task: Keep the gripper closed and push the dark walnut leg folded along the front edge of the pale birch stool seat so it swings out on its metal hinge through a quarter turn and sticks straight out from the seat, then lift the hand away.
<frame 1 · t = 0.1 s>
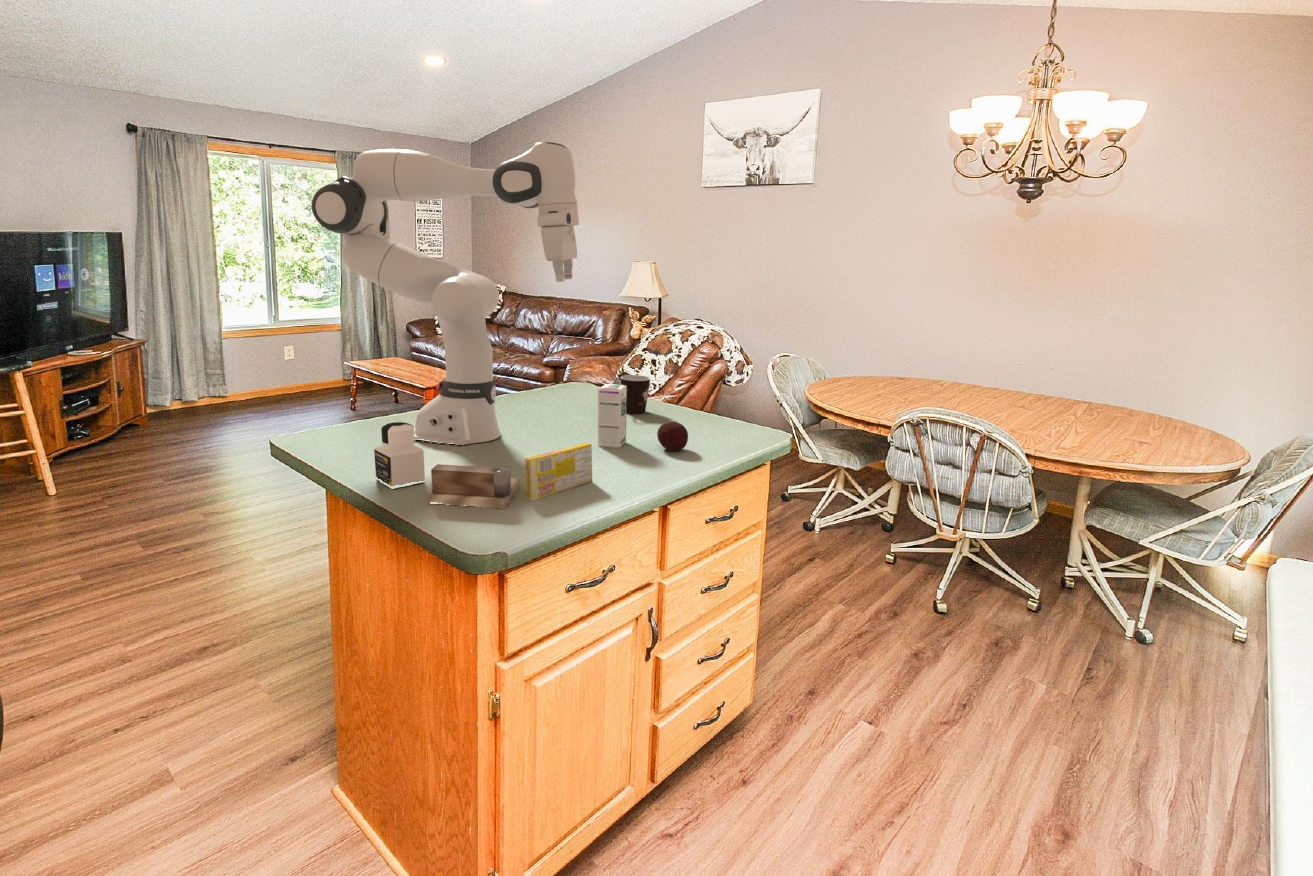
hand: (564, 280, 170), 39 cm above the table, tool pointing down, fingers open, 8 cm apart
candy box: (560, 491, 146), on the table
folding leg: (472, 480, 136), point 4 cm above the table, hinge at 0.0°
dark red plum: (672, 450, 177), on the table
medicine bottle: (400, 483, 147), on the table
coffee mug: (630, 413, 212), on the table
stool seat: (476, 495, 141), on the table
syrup box: (611, 444, 179), on the table
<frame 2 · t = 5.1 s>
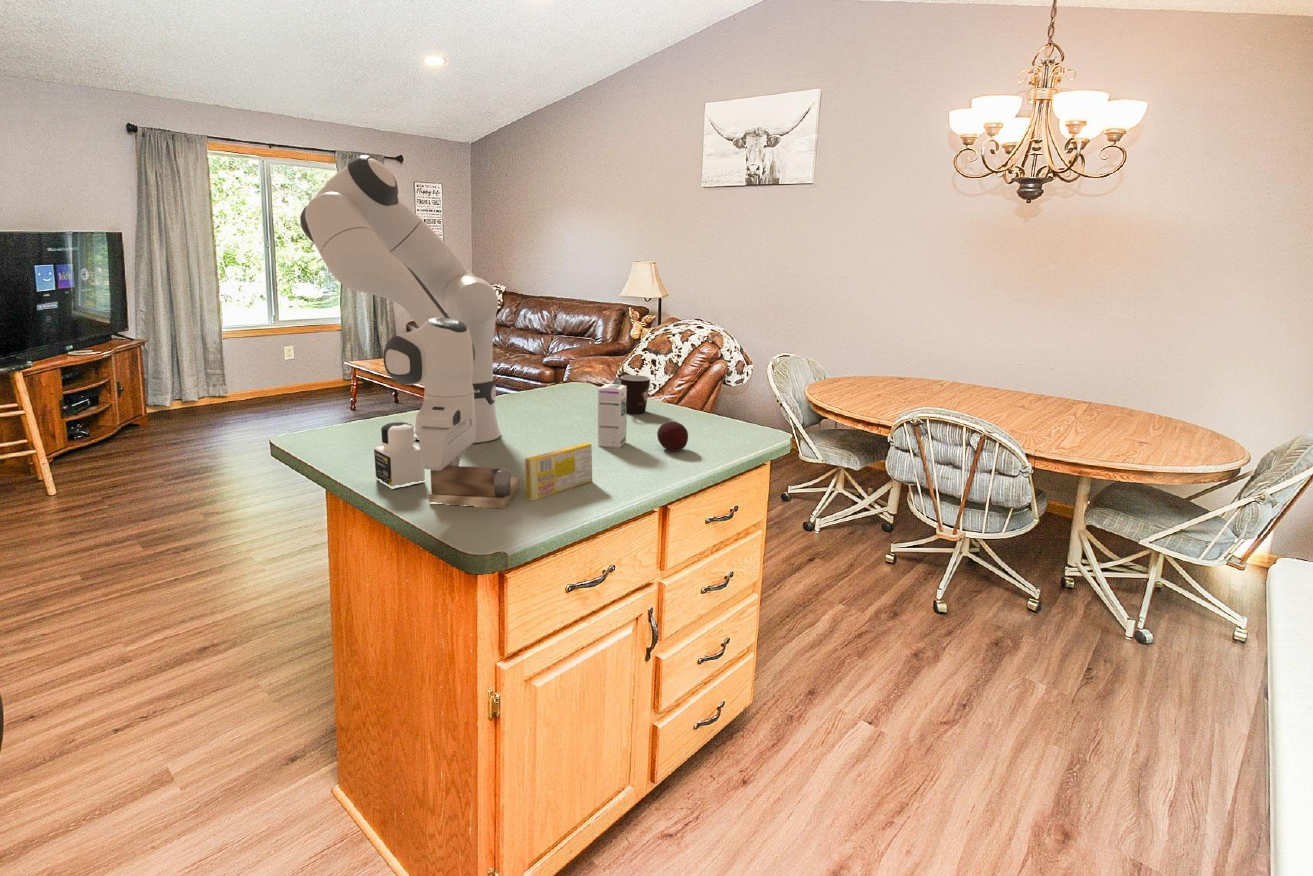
hand: (451, 478, 139), 4 cm above the table, tool pointing down, fingers closed
folding leg: (472, 481, 136), point 4 cm above the table, hinge at 2.8°, touching gripper
everything else where it was.
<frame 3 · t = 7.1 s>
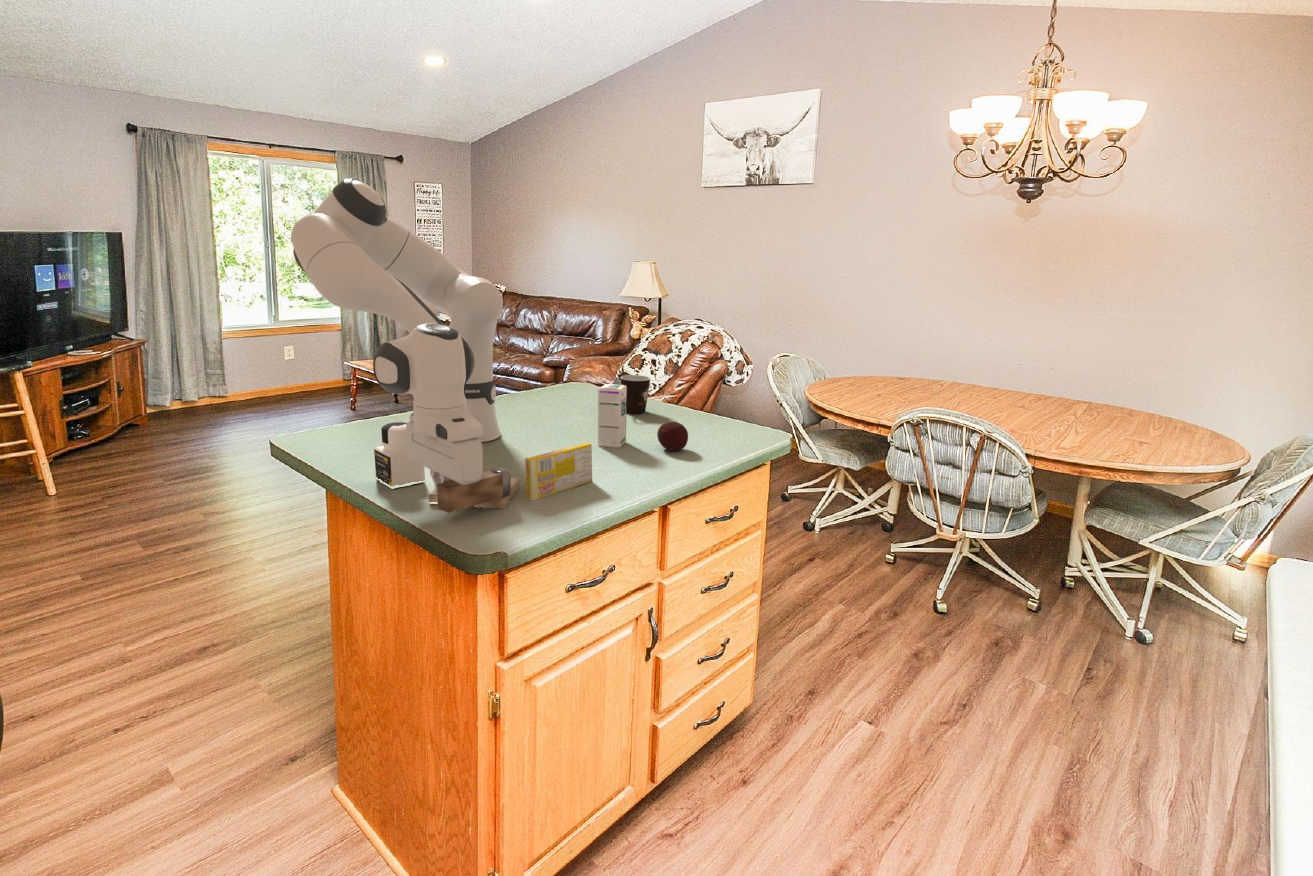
hand: (442, 494, 131), 4 cm above the table, tool pointing down, fingers closed
folding leg: (477, 489, 132), point 4 cm above the table, hinge at 54.0°, touching gripper
everything else where it was.
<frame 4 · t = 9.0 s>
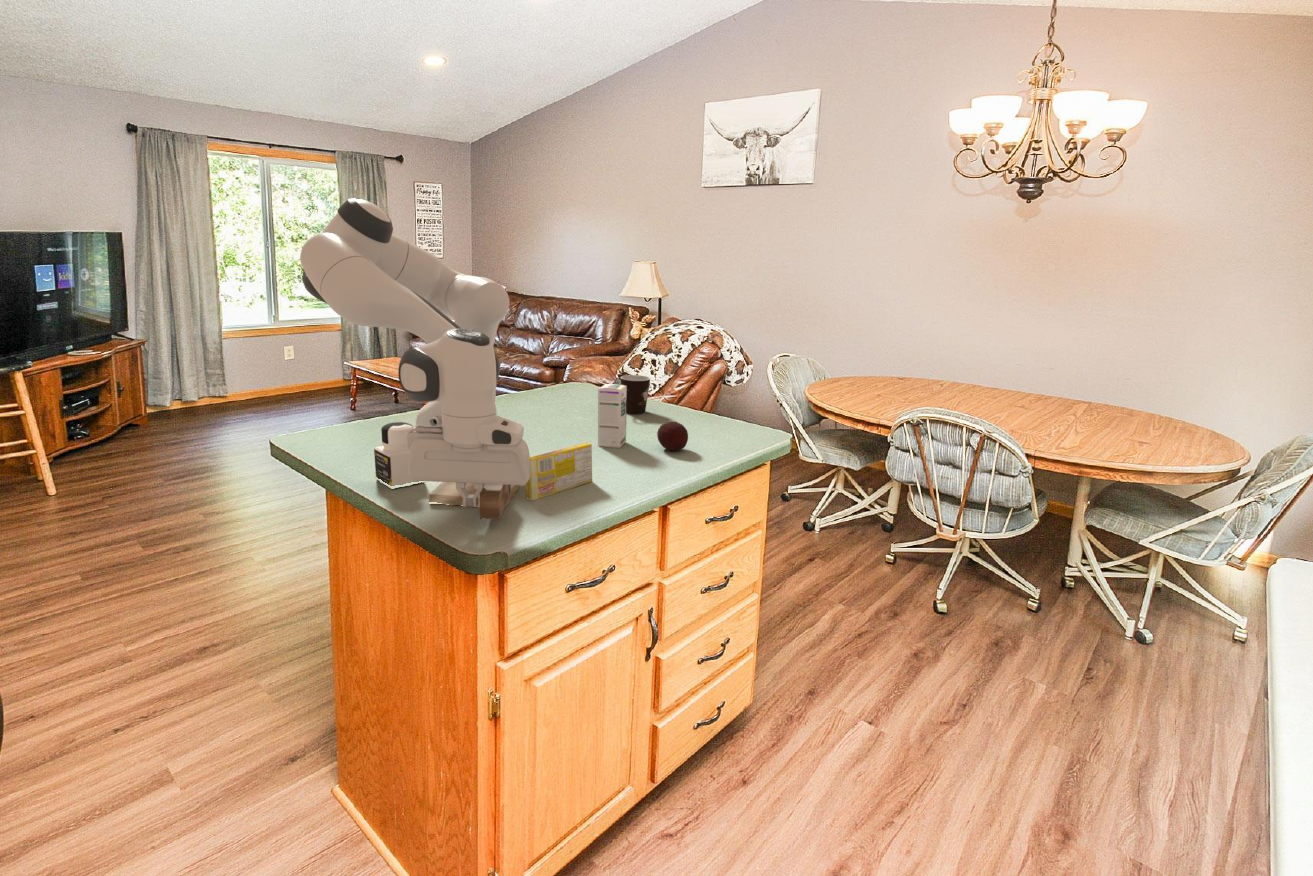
hand: (470, 505, 126), 4 cm above the table, tool pointing down, fingers closed
folding leg: (496, 492, 131), point 4 cm above the table, hinge at 96.9°, touching gripper
everything else where it was.
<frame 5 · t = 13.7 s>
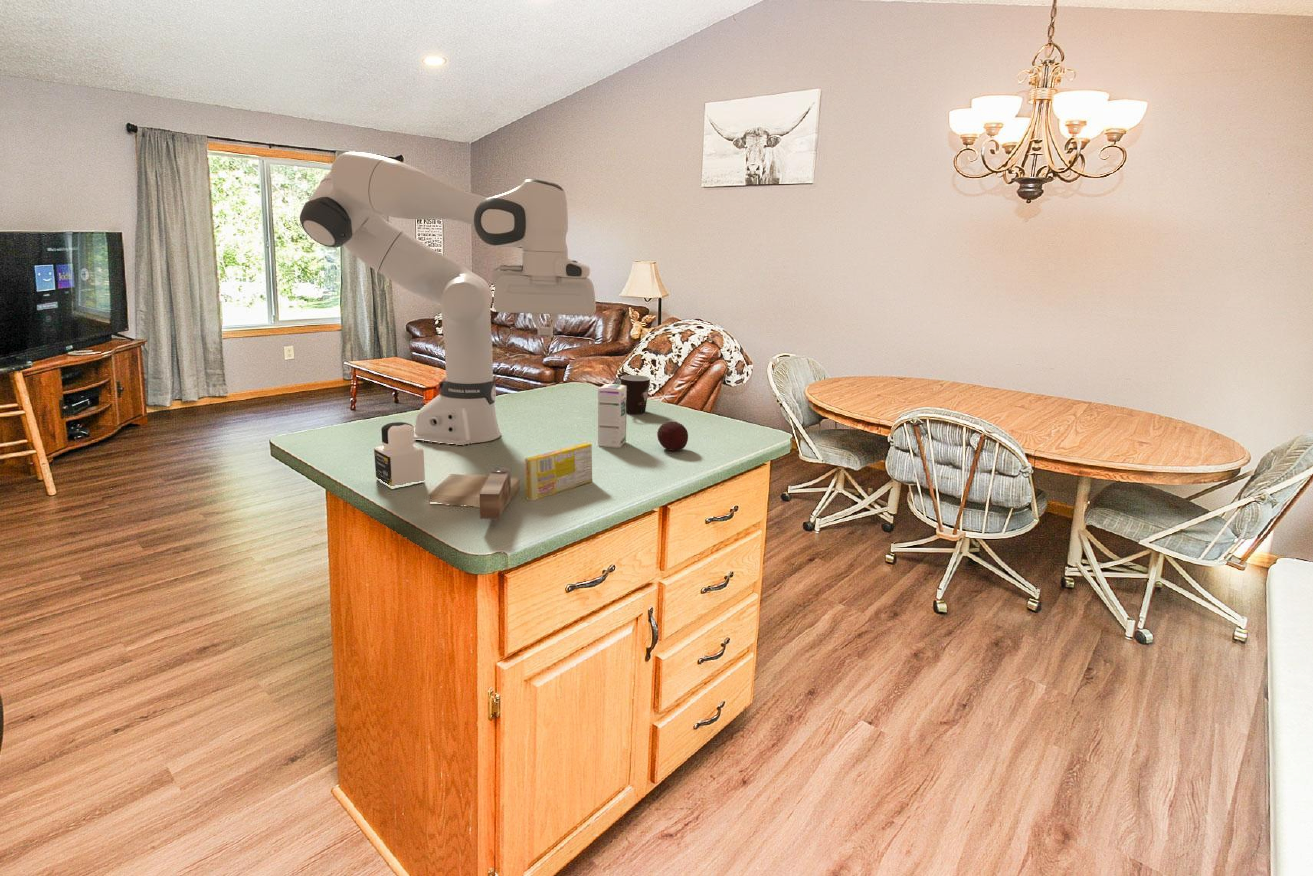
hand: (545, 336, 148), 29 cm above the table, tool pointing down, fingers closed
folding leg: (496, 492, 131), point 4 cm above the table, hinge at 96.9°
everything else where it was.
at the end: folding leg at +97° (first picture: +0°); the gripper is holding nothing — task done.
